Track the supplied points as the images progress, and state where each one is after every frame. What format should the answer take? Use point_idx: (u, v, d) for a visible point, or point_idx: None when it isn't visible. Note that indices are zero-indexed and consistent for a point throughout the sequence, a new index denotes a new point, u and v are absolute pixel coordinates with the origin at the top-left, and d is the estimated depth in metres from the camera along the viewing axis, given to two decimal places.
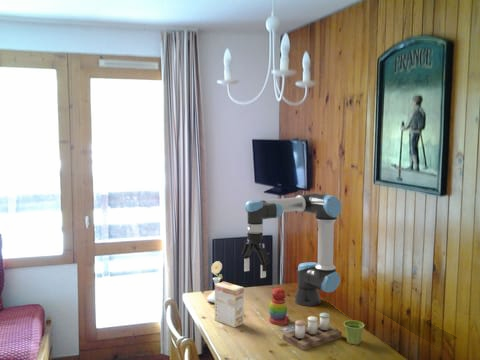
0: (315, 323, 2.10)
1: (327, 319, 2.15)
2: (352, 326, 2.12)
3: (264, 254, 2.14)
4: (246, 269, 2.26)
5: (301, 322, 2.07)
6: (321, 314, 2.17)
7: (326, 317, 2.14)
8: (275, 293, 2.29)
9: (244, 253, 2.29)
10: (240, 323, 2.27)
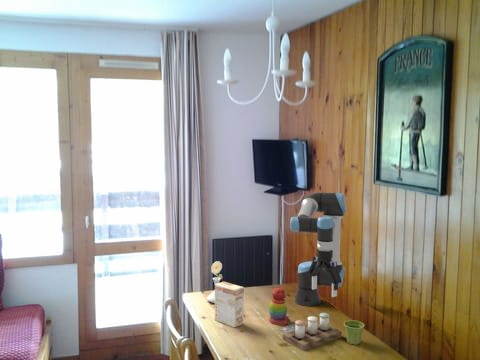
0: (315, 323, 2.10)
1: (327, 319, 2.15)
2: (352, 326, 2.12)
3: (336, 273, 2.08)
4: (314, 287, 2.21)
5: (301, 322, 2.07)
6: (321, 314, 2.17)
7: (326, 317, 2.14)
8: (275, 293, 2.29)
9: None
10: (240, 323, 2.27)
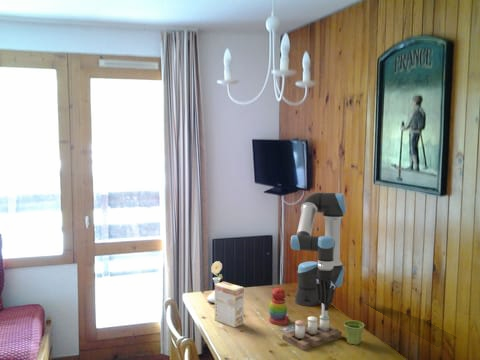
0: (315, 323, 2.10)
1: (327, 321, 2.15)
2: (352, 326, 2.12)
3: (331, 295, 2.12)
4: None
5: (301, 322, 2.07)
6: (321, 316, 2.17)
7: (326, 319, 2.14)
8: (275, 293, 2.29)
9: None
10: (240, 323, 2.27)
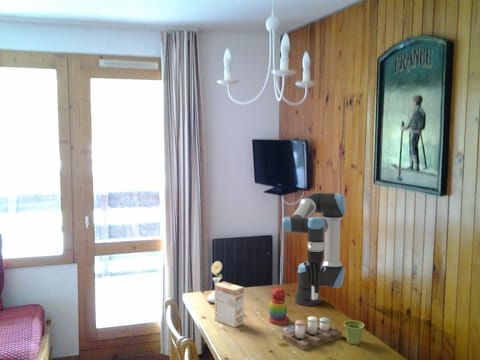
0: (315, 323, 2.10)
1: (327, 324, 2.15)
2: (352, 326, 2.12)
3: (321, 277, 2.07)
4: None
5: (301, 322, 2.07)
6: (321, 319, 2.17)
7: (326, 322, 2.15)
8: (275, 293, 2.29)
9: None
10: (240, 323, 2.27)
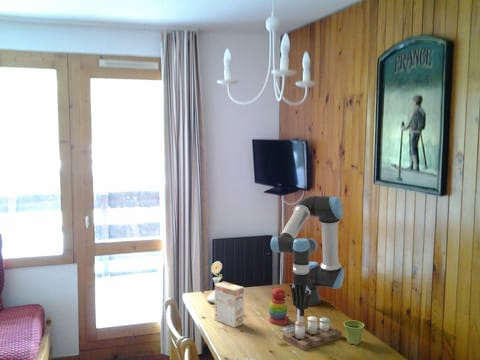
0: (315, 323, 2.10)
1: (327, 324, 2.15)
2: (352, 326, 2.12)
3: (306, 300, 2.02)
4: None
5: (301, 323, 2.07)
6: (321, 319, 2.17)
7: (326, 322, 2.15)
8: (275, 293, 2.29)
9: None
10: (240, 323, 2.27)
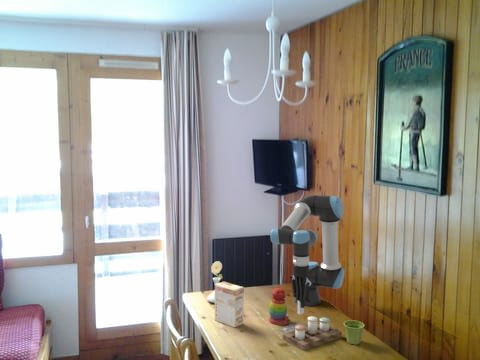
0: (315, 323, 2.10)
1: (327, 324, 2.15)
2: (352, 326, 2.12)
3: (307, 292, 2.02)
4: None
5: (301, 327, 2.07)
6: (321, 319, 2.17)
7: (326, 322, 2.15)
8: (275, 293, 2.29)
9: None
10: (240, 323, 2.27)
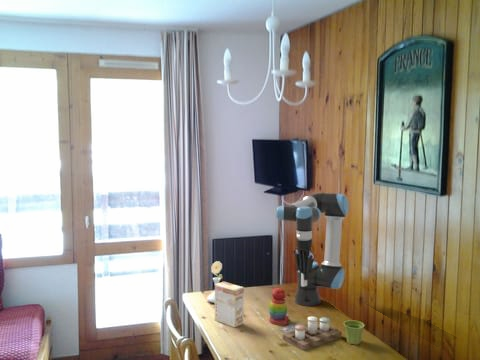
0: (315, 323, 2.10)
1: (327, 324, 2.15)
2: (352, 326, 2.12)
3: (310, 265, 2.13)
4: None
5: (301, 327, 2.07)
6: (321, 319, 2.17)
7: (326, 322, 2.15)
8: (275, 293, 2.29)
9: (300, 267, 2.20)
10: (240, 323, 2.27)
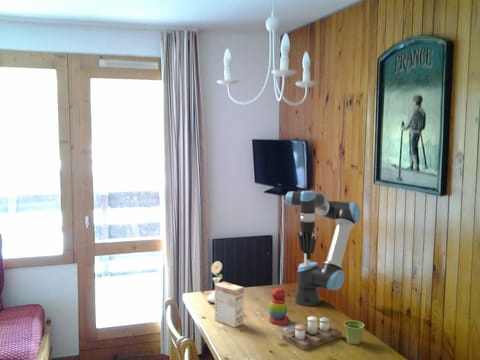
0: (315, 323, 2.10)
1: (327, 324, 2.15)
2: (352, 326, 2.12)
3: (312, 245, 2.28)
4: None
5: (301, 327, 2.07)
6: (321, 319, 2.17)
7: (326, 322, 2.15)
8: (275, 293, 2.29)
9: None
10: (240, 323, 2.27)
